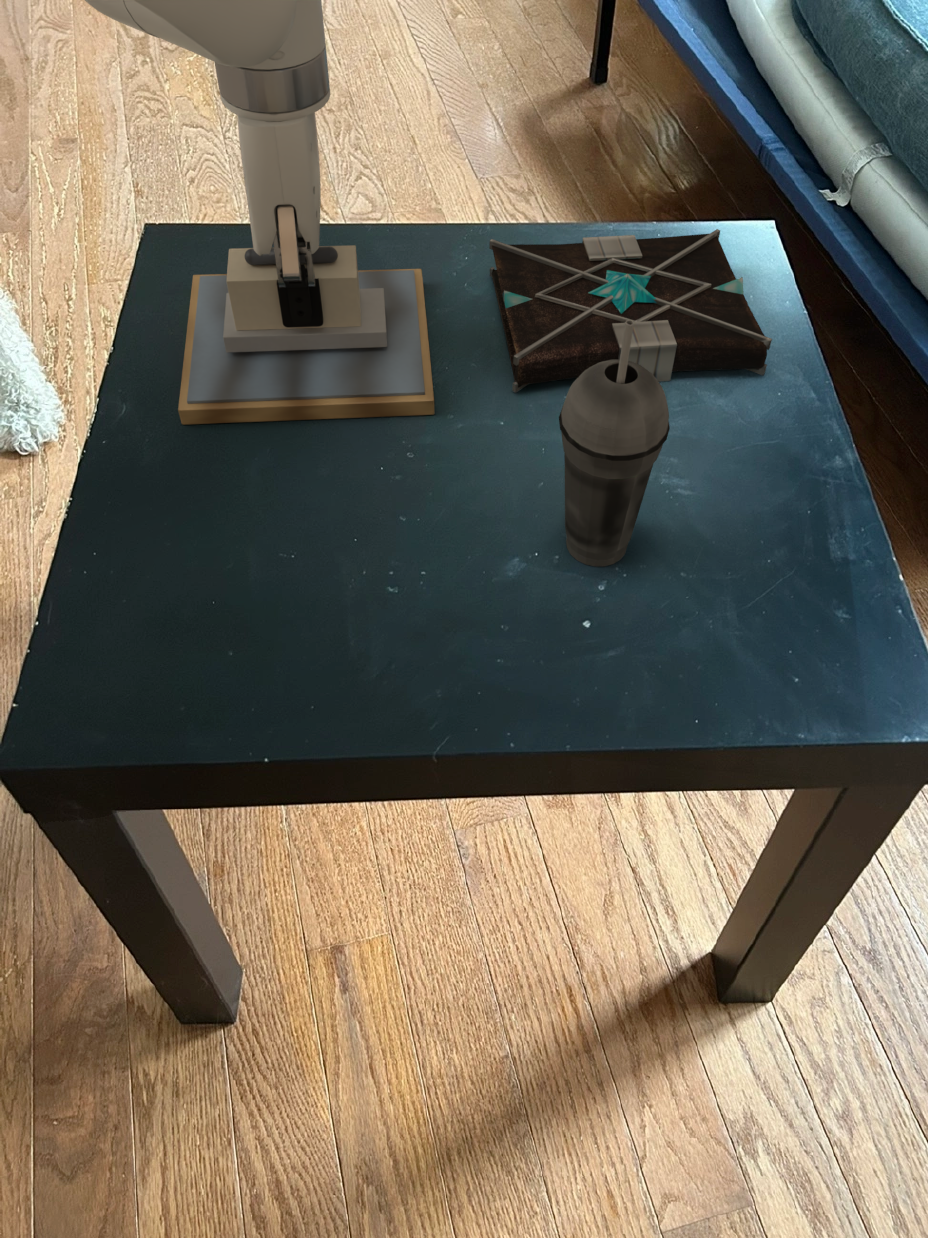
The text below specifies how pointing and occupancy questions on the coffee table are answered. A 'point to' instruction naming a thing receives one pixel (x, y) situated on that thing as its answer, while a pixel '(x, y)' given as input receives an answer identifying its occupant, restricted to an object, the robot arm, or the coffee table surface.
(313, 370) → the board
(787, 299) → the coffee table surface
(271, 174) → the robot arm
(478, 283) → the coffee table surface
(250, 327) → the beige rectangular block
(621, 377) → the beverage cup
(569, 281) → the book
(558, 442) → the coffee table surface
